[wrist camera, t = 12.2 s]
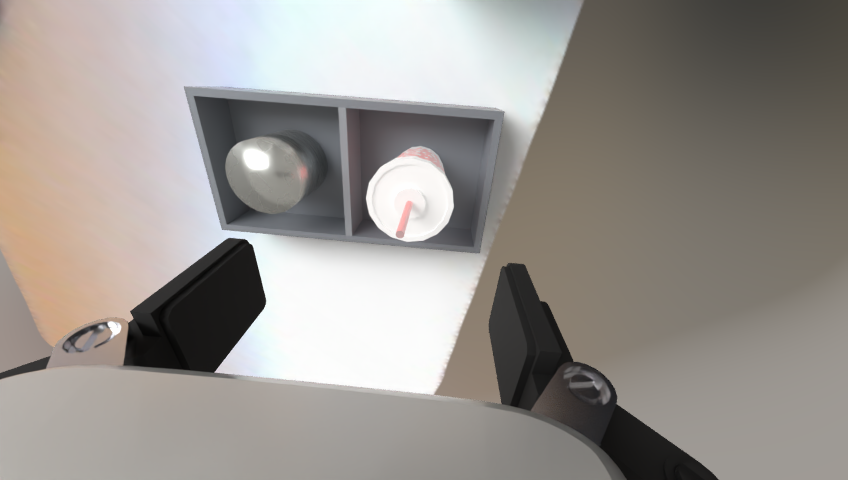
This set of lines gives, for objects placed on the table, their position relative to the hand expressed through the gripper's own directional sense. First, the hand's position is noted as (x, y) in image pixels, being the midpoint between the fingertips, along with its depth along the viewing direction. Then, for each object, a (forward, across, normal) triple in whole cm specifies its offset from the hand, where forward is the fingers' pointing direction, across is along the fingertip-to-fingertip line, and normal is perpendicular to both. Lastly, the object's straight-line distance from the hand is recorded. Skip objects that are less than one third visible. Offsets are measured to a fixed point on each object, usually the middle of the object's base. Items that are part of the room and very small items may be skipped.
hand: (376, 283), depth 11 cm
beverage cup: (+19, 0, +1) cm, 19 cm away
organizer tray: (+20, +6, +1) cm, 21 cm away
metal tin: (+19, +12, +1) cm, 23 cm away
